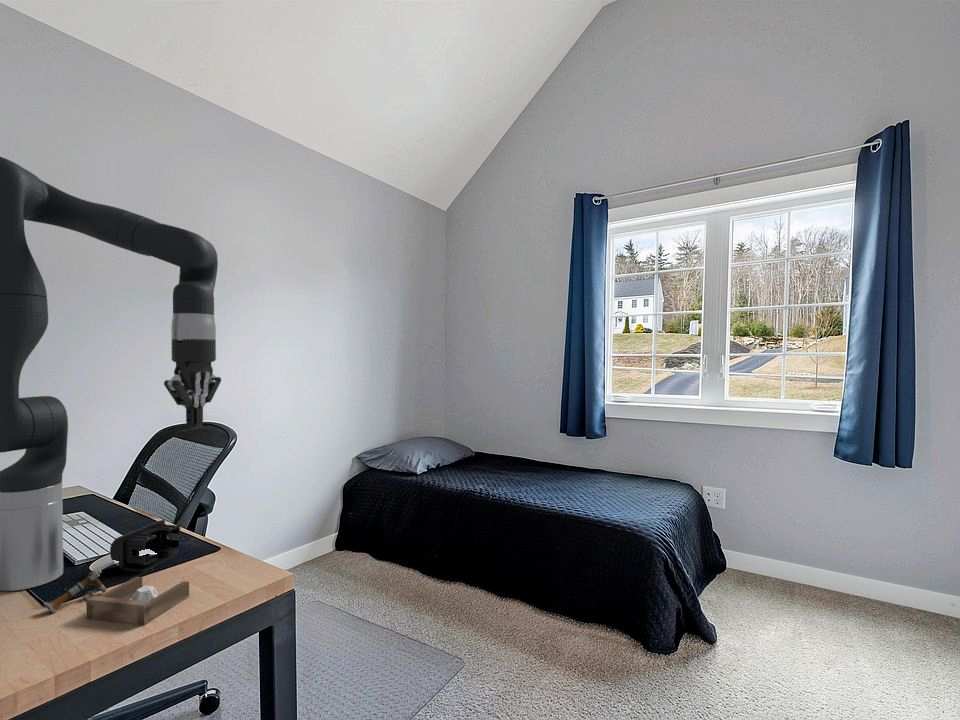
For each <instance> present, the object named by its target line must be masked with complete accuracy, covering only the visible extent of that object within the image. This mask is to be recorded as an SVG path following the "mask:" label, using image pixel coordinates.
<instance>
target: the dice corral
mask: <svg viewBox="0 0 960 720" xmlns="http://www.w3.org/2000/svg"><path fill="white" fill-rule="evenodd" d="M141 587H143V577H142V576H135V577H133V578H131V579H129V580H127V581H125V582H123V583H122V584H120V585H118V586H116V587H114V588H112V589H110V590H108V591H105V592H104V593H102V594H100V595H95V596H92V597H90V598H88V599H86V600H85V601H86V602H85V603H86V619H88V620H97V621H106V622H114V623H122V624H123V623H124V624H130V625H138V626H139V625H140V626H141V625H142V626H146V625H147V624H149V623H150V622H152V621H153V620H155V619H157V618H158V617H159V616H162V615H163V614H164V613H166V612H167V611H168V610H170V609H172V608H174V607H175V606H176V605H178V604H180V603H181V602H182V601H184V600H186V599H187V598H189V597H190V581H185V580H184V581H183V580H182V581H180V582H179V583H178V584H176V585H174V586H172V587H170V588H169V589H167V590H166V591H164V592H162V593H161V594H158V596H157V597H155V598H154V599H152V600H150V601H149V602H147V601H138V600H132V596H133V595H134V593H135V592H136V590H137V589H139V588H141Z"/></svg>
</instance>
